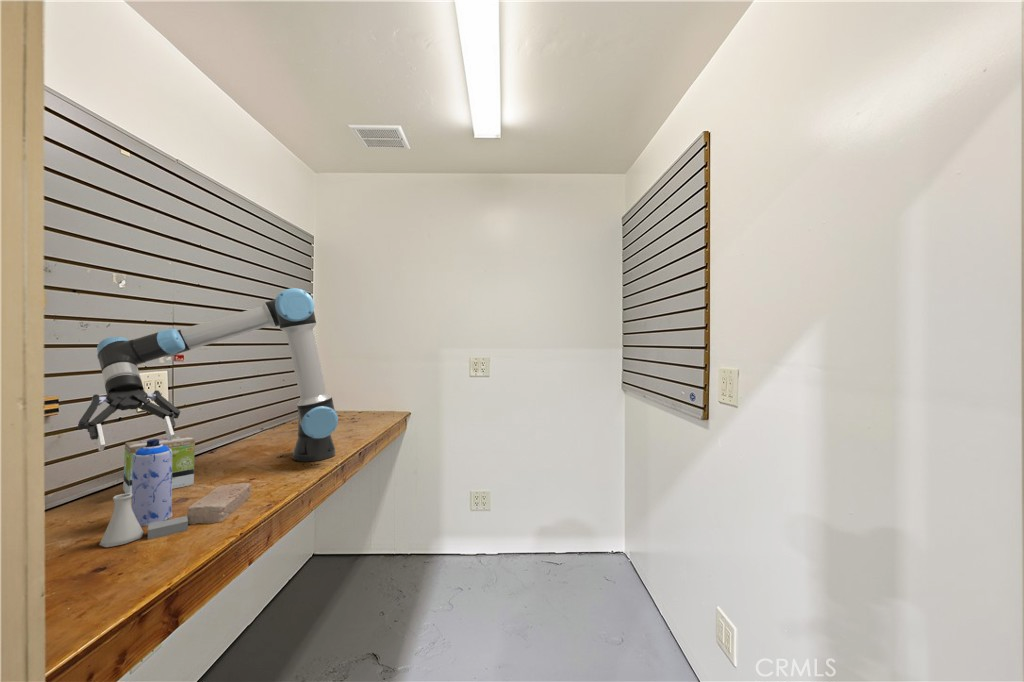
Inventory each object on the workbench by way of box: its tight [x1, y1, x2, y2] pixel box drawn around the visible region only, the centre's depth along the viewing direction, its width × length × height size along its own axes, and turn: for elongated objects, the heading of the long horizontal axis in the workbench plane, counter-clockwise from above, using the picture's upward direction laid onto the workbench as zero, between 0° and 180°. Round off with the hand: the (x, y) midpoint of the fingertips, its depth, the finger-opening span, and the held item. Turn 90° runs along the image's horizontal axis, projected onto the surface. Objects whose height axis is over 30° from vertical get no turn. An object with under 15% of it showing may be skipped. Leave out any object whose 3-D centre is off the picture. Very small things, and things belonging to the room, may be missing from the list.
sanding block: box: [147, 515, 189, 541], centre depth 93 cm, size 7×4×2 cm, turn 131°
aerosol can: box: [131, 438, 173, 527], centre depth 100 cm, size 8×8×20 cm
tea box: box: [122, 434, 196, 499], centre depth 122 cm, size 15×10×15 cm, turn 141°
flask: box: [99, 493, 145, 548], centre depth 89 cm, size 7×7×10 cm
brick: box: [186, 482, 252, 525], centre depth 106 cm, size 17×8×5 cm, turn 12°
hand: (138, 442), depth 105 cm, fingers open, 13 cm apart
